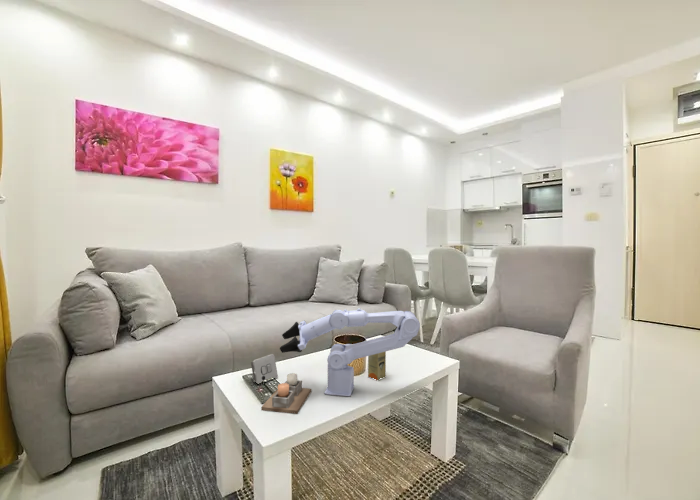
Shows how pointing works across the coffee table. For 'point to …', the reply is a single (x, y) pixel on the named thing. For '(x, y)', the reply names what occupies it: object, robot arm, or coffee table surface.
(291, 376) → the plug cream
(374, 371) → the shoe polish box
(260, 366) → the electrical switch
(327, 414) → the coffee table surface
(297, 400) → the panel
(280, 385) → the plug terracotta
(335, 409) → the coffee table surface
